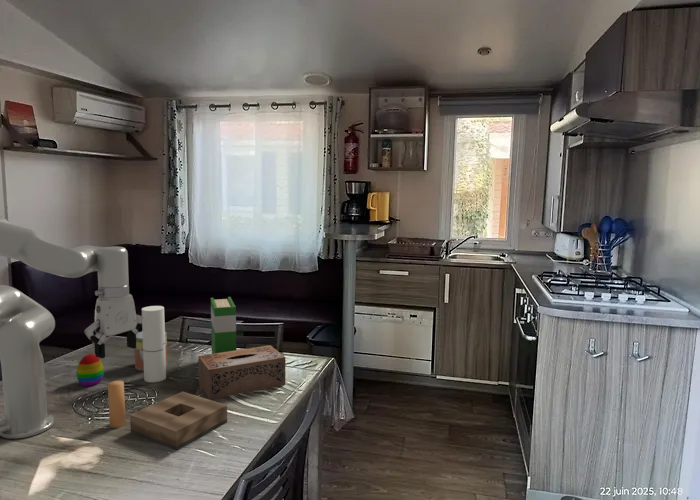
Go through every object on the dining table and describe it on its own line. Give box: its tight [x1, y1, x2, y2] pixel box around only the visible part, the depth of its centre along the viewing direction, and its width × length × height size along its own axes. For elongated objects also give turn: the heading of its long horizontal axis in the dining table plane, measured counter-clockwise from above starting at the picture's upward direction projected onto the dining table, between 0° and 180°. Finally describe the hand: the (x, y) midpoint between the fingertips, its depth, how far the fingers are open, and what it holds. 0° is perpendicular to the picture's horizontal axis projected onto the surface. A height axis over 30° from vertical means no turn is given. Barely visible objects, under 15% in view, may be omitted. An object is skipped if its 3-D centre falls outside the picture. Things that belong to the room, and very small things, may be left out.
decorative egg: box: [76, 353, 105, 387], centre depth 165 cm, size 8×8×10 cm
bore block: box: [129, 391, 228, 451], centre depth 136 cm, size 18×18×5 cm
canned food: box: [134, 330, 168, 371], centre depth 183 cm, size 11×11×12 cm
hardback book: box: [210, 296, 237, 354], centre depth 184 cm, size 18×7×24 cm, turn 20°
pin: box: [107, 380, 126, 429], centre depth 137 cm, size 4×4×12 cm
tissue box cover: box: [197, 344, 286, 400], centre depth 166 cm, size 26×14×10 cm, turn 120°
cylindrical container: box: [141, 305, 167, 383], centre depth 169 cm, size 7×7×25 cm
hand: (116, 352), depth 136 cm, fingers open, 9 cm apart
